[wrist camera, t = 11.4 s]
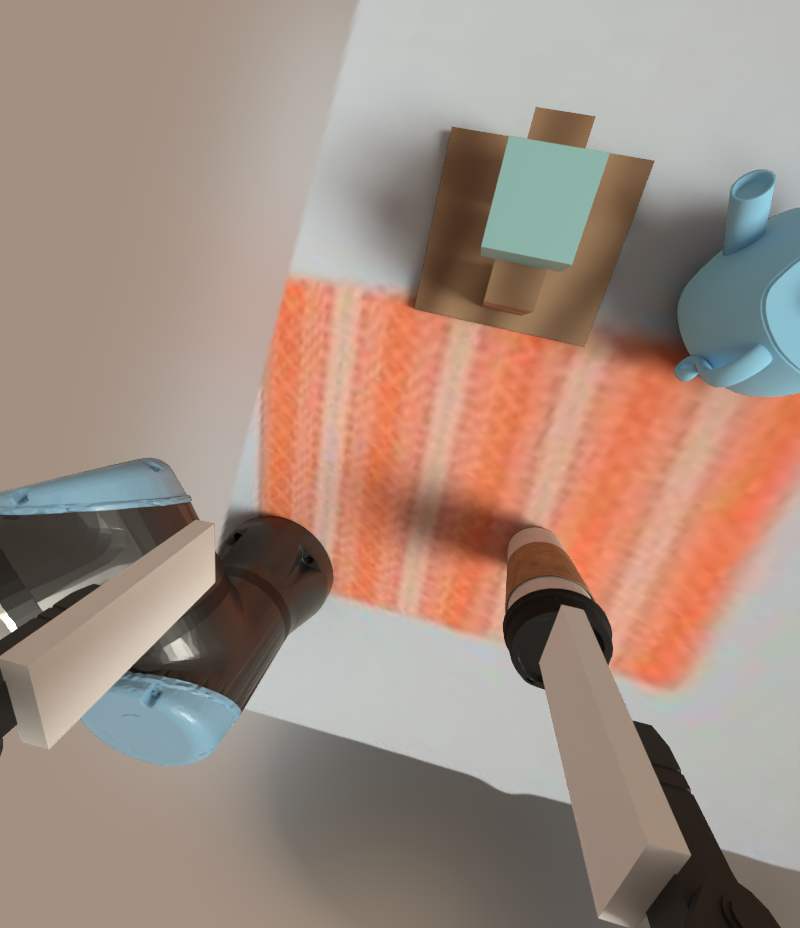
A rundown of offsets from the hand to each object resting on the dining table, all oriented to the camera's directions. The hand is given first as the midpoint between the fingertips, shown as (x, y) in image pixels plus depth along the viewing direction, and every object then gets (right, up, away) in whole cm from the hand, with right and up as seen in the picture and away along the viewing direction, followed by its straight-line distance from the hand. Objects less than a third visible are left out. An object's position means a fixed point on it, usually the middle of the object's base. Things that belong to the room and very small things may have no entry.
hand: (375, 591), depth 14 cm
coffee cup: (+16, -5, +29) cm, 34 cm away
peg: (+11, +23, +17) cm, 31 cm away
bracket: (+12, +24, +19) cm, 33 cm away
